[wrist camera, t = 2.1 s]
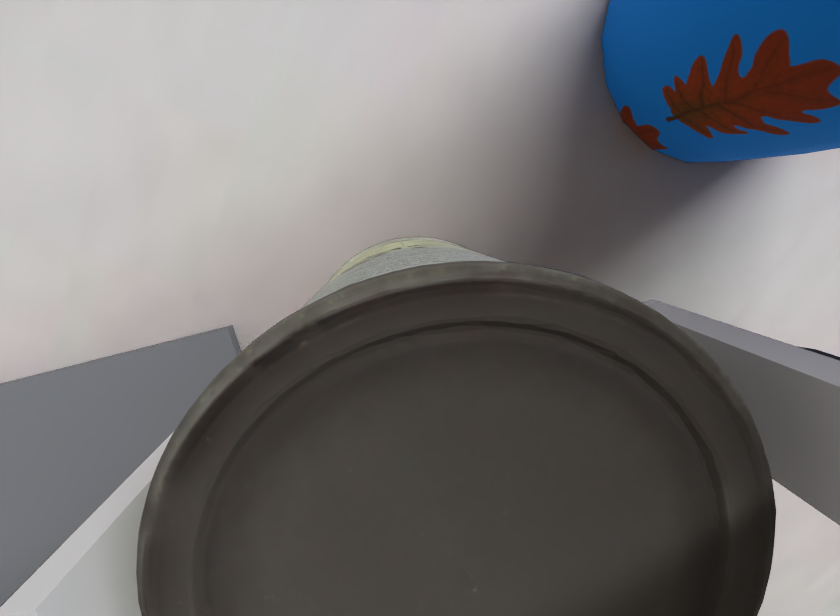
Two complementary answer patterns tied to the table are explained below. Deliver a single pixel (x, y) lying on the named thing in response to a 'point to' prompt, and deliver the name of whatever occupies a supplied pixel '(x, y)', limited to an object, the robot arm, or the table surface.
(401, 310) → the coffee can
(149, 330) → the table surface
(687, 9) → the thermos
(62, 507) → the placemat
